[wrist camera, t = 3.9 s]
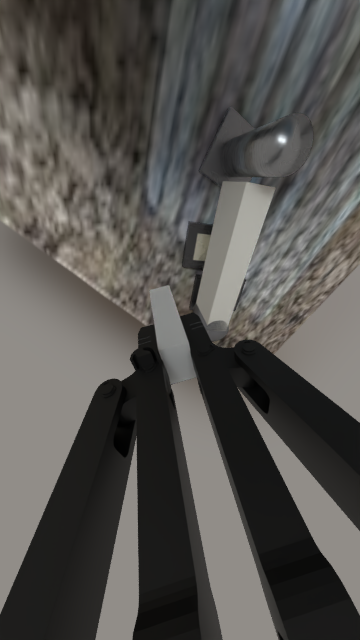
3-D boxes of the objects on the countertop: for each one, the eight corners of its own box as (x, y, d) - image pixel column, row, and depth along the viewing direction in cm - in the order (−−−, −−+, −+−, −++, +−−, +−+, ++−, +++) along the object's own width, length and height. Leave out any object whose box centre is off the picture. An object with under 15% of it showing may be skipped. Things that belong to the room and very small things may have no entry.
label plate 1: (181, 265, 25) (182, 267, 24) (188, 221, 22) (190, 222, 22) (232, 269, 26) (234, 271, 26) (245, 229, 24) (247, 230, 23)
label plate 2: (189, 307, 29) (190, 310, 28) (195, 274, 26) (197, 276, 25) (233, 308, 30) (235, 311, 30) (244, 278, 28) (246, 280, 27)
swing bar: (220, 180, 19) (243, 181, 15) (248, 186, 19) (278, 188, 15) (191, 317, 27) (200, 341, 23) (211, 317, 28) (224, 341, 24)
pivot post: (198, 171, 20) (236, 166, 12) (227, 108, 17) (293, 59, 10) (236, 198, 22) (287, 208, 14) (266, 146, 20) (344, 127, 12)
